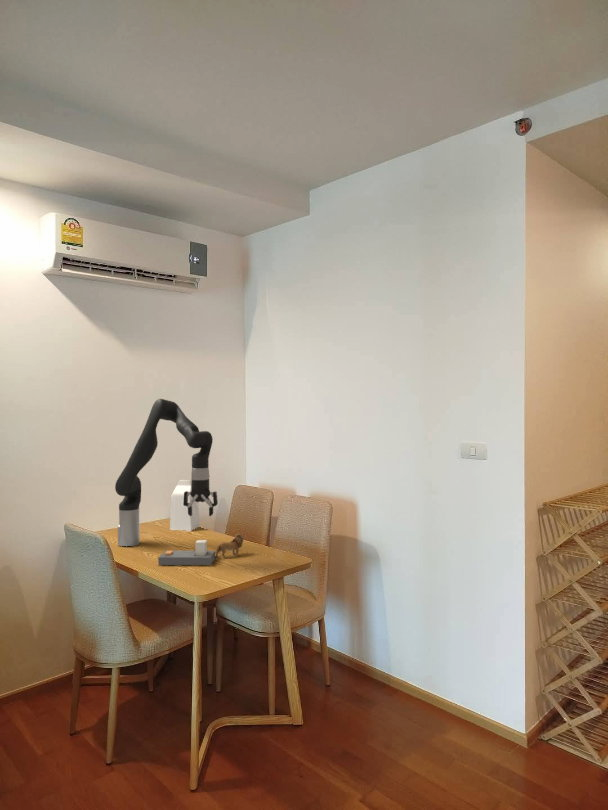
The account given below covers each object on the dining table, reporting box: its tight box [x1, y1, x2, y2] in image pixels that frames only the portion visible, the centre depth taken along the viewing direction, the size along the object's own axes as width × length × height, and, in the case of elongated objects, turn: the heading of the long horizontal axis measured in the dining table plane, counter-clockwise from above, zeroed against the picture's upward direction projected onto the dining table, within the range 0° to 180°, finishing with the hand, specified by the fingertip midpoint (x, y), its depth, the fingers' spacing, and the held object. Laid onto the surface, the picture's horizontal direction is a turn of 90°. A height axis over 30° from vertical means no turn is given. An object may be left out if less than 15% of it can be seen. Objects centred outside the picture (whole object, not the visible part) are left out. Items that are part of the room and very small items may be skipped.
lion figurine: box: [215, 533, 244, 559], centre depth 238 cm, size 15×5×9 cm, turn 131°
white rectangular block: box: [194, 539, 208, 556], centre depth 230 cm, size 4×4×9 cm
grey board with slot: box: [157, 550, 216, 567], centre depth 230 cm, size 22×10×4 cm, turn 88°
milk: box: [169, 479, 201, 532], centre depth 290 cm, size 12×12×26 cm
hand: (200, 515), depth 230 cm, fingers open, 8 cm apart
